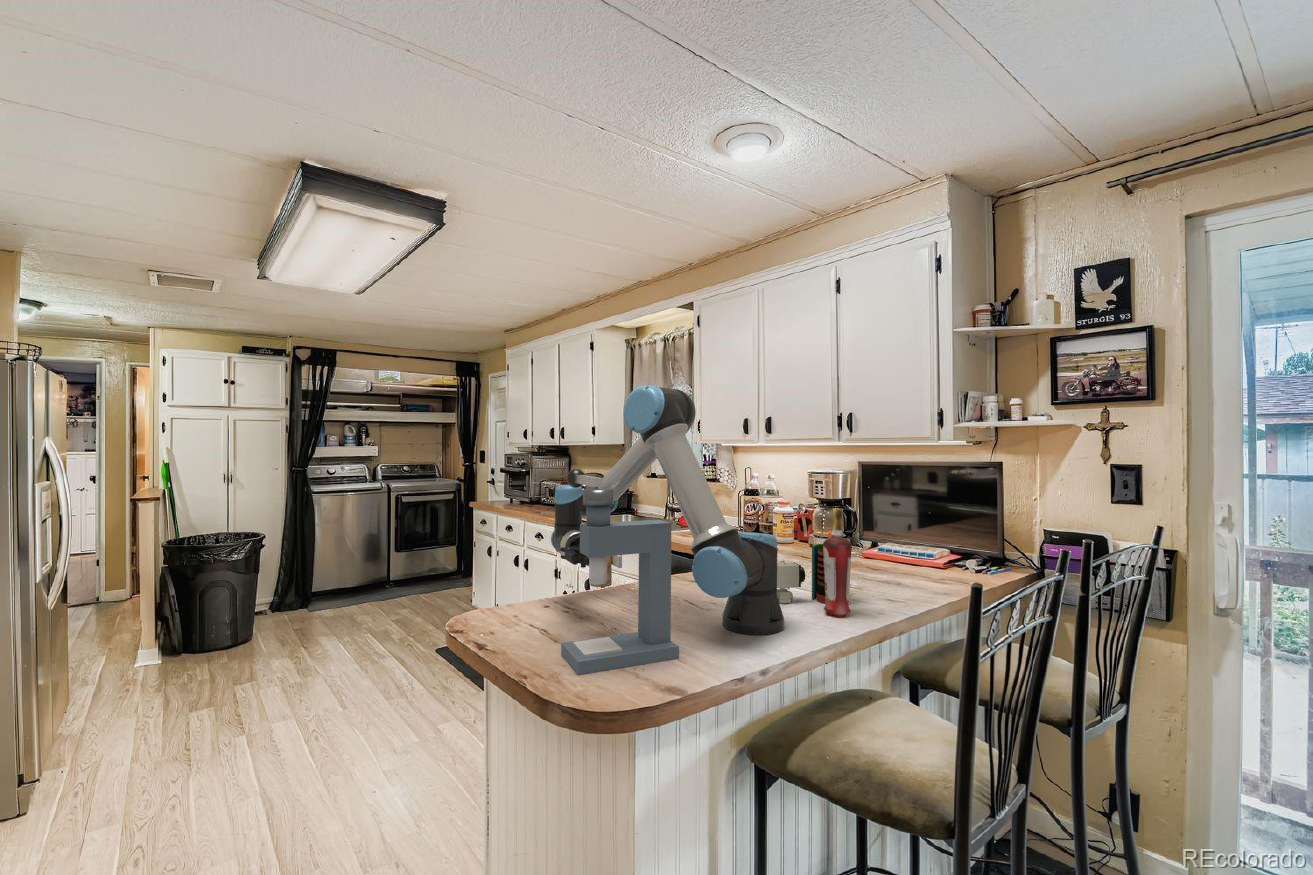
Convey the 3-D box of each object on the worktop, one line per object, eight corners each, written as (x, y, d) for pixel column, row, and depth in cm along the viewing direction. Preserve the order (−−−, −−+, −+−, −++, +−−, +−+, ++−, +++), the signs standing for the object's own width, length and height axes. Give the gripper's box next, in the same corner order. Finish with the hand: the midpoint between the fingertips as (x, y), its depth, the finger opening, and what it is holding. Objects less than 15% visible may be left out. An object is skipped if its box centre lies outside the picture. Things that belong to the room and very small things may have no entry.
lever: (586, 496, 139) (586, 468, 139) (618, 505, 120) (618, 472, 120) (559, 497, 137) (560, 468, 137) (588, 506, 117) (588, 473, 117)
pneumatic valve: (805, 603, 165) (805, 561, 165) (766, 605, 163) (766, 562, 163) (797, 598, 171) (797, 557, 171) (759, 600, 168) (759, 558, 169)
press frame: (655, 640, 133) (656, 500, 134) (678, 658, 122) (680, 505, 123) (561, 654, 124) (562, 503, 124) (577, 674, 113) (579, 509, 113)
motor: (810, 602, 166) (811, 532, 166) (813, 595, 174) (813, 528, 175) (848, 606, 163) (848, 534, 163) (848, 598, 171) (848, 530, 171)
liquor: (818, 610, 158) (819, 507, 158) (845, 610, 159) (845, 507, 159) (828, 618, 151) (828, 510, 151) (856, 618, 151) (856, 510, 152)
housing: (613, 582, 140) (613, 540, 140) (609, 587, 135) (609, 543, 135) (592, 582, 140) (592, 540, 140) (588, 586, 135) (588, 543, 135)
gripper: (610, 558, 157) (645, 576, 136) (544, 563, 150) (570, 583, 129) (610, 530, 158) (645, 543, 136) (544, 534, 150) (570, 549, 129)
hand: (608, 563), depth 133 cm, fingers closed on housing, 5 cm apart
